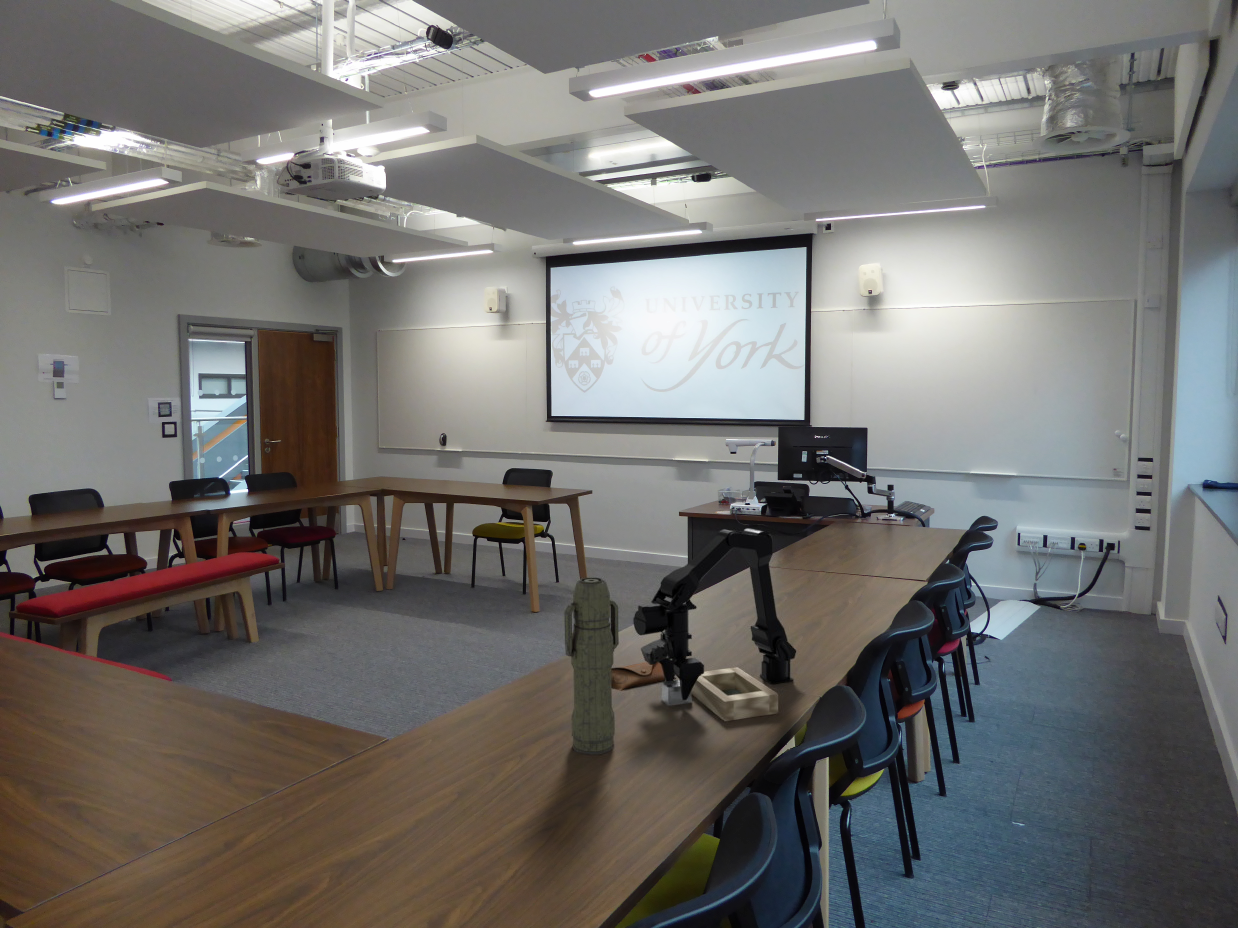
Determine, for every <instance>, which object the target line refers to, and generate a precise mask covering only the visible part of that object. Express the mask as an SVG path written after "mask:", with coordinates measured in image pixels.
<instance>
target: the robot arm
mask: <svg viewBox="0 0 1238 928" xmlns="http://www.w3.org/2000/svg"><path fill="white" fill-rule="evenodd" d="M733 548H739V549H740V552H741V555H742V556H743V558H744V559H745V561H746V562H747V564H748V567H749V573H750V579H751V585H752V591H753V598H754V603H755V611H756V617H757V619H756V621H755V623H754V625H750V632H751V641H752V642H754V645H755V646H756V647H757V649H758V652H759V653H760V654H762V660H761V673H760V674H759V677H760V678H761V679H763V680H764V681H766V682H768V683H770V684H771V685H776V684H783V683H790V682H794V680H795V679H794V678H793V677H791V660H793V659H794V660H795V657H796V654H797V650H796V649H795V647H794V646H793V645H792V644H791V643H790V642H789V641H788V637H787V633H786V630H785V627H784V625H783V624H782V623H781V621H780V620H779V618H778V616H777V615H778V614H777V609H776V608H777V607H776V602H775V595H774V589H773V582H772V575H771V568H770V561H771V559H772V557H773V554H774V541H773V536H772V535H771V534H770V533H769V532H768V531H764V530H759V529H755V528H745V529H743V531H739V530H728V529H721V530H720V531H718V532H717V535H716V536H715V537H714V538H713V539H712V540H711V541H710V542H709V543H708V544H707V545H706V546H705V547H703V549H702V550H700V552H698V553H697V554H696V555H695V556H694V557H693V558H692V559H691V560H690V561H689V562H688V563H687V564H685V565H684V566H682V567H680V568H677V569H675V570H673V571H671V572H670V573H668V574H666V576H665V577H663V579H661V582H660V586H659V588H658V590H657V591H656V594H655V595H654V596H653V599H651V604H640V605H637V611H635V613H634V616H633V619H632V621H633V623H632V624H633V627H634V629H635V633H637V635H638V636H647V635H652V634H657V633H660V638H659V639H657V640H654V641H651V642H649V643H648V644H646V645H644V646H642V647H641V648H640V651H641V653H642V656H643V659H644V662H648V663H649V665H654V664H656V663H657V662H659V663H660V664H661V667H662V670H663V673H664V677H665V681H664V682H667V681H675V679H674V677H675V678H677V679H678V680H679V681H680V689H681V696H682V700H687V698H688V696H689V694H690V692H691V690H692V688H693V686H694V684H695V683H696V681H697V679H698V677H699V676H701V674H704V671H705V664H704V663H702V662H701V661H700V660H699V659H698V658H696V657H692V655H693V652H692V651H691V650H690V647H689V645H690V643H689V640H692V639H693V638H692V637H693V636H692V633H690V632H689V630H690V629H689V627H690V626H689V621H690V620H689V619H690V617H689V611H691V610H697V607H698V606H696V605H695V604H694V603H693V601H691V598H692V597H693V596H694V595H695V593H696V591H698V589H699V588H698V587H699V586H700V582H701V581H702V580H703V578H704V577H705V576H706V575H707V574H708V573H709V572H710V571H711V570H712V569H713V568H714V567H715V566H716V565H717V564H718V563H719V562H720V561H721V560H722V559H723V558H724V557H725V556H726V555H727V554H728V553H729V552H730V551H731V550H732V549H733ZM667 599H668V600H667ZM670 600H671V601H670ZM688 657H689V658H688Z"/></svg>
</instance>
